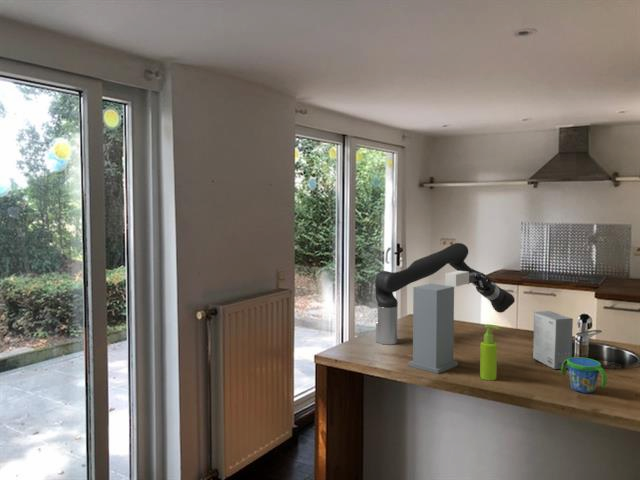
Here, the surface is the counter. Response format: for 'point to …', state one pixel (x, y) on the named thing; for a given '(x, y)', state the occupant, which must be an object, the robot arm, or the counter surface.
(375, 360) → the counter surface
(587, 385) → the snack cup
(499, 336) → the counter surface
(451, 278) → the block
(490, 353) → the soap dispenser
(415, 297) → the grey rectangular pillar
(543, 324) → the hard drive box
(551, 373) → the counter surface
